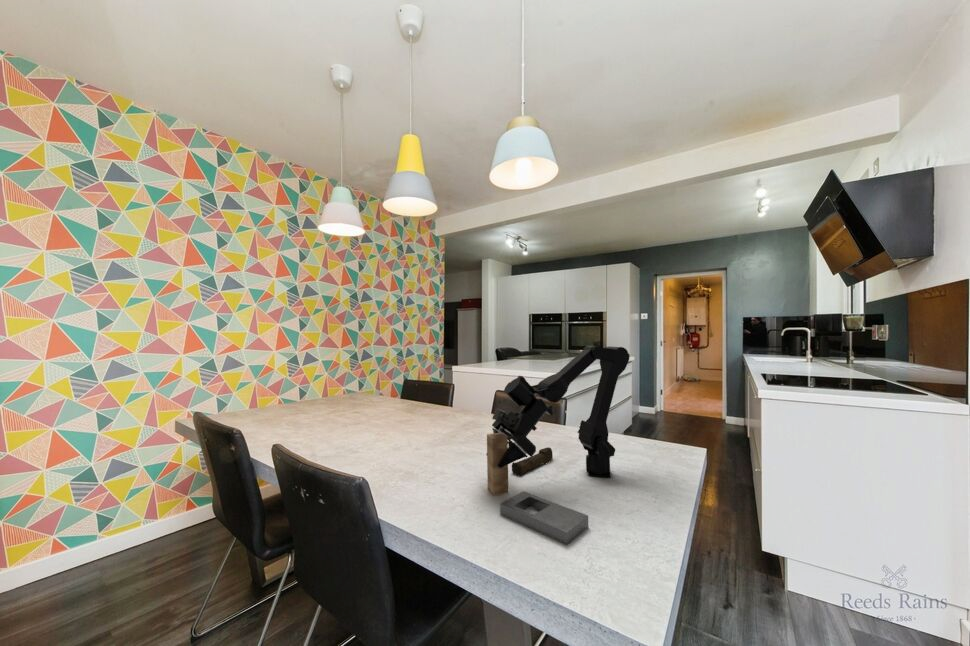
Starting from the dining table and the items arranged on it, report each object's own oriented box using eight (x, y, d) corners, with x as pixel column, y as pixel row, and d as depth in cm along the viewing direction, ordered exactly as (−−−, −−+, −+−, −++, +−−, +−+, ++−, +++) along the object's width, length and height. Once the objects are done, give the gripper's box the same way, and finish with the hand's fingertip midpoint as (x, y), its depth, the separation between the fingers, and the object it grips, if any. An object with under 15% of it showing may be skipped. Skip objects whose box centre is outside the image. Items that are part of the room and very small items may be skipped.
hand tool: (520, 478, 106) (520, 462, 106) (511, 474, 109) (510, 458, 109) (559, 462, 118) (558, 448, 118) (549, 459, 121) (549, 445, 121)
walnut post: (502, 486, 100) (501, 432, 100) (508, 492, 95) (507, 436, 96) (487, 488, 98) (486, 434, 99) (493, 495, 94) (492, 438, 94)
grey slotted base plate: (500, 514, 84) (500, 503, 84) (523, 501, 91) (523, 491, 91) (567, 545, 72) (566, 532, 72) (588, 527, 78) (588, 515, 78)
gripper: (497, 392, 108) (463, 433, 104) (524, 404, 90) (483, 453, 86) (521, 416, 110) (488, 457, 106) (552, 432, 92) (514, 481, 88)
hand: (492, 461), depth 96 cm, fingers open, 8 cm apart
